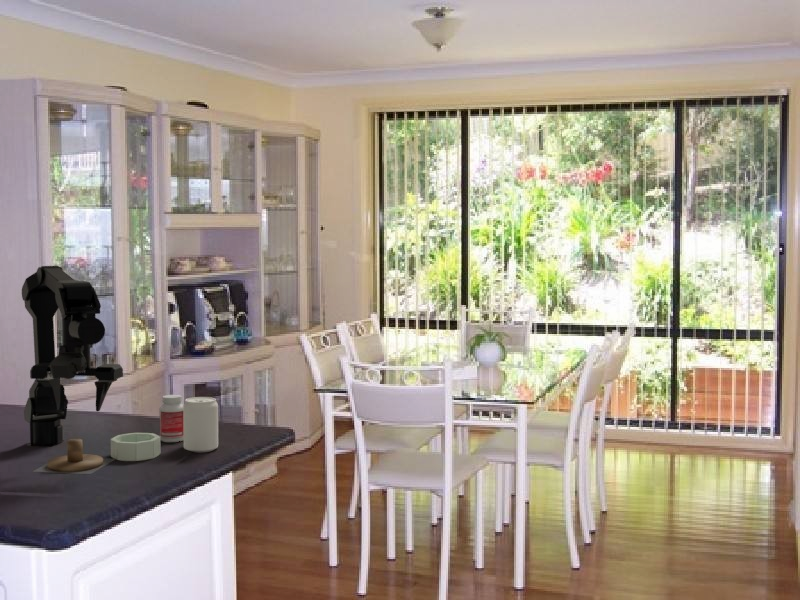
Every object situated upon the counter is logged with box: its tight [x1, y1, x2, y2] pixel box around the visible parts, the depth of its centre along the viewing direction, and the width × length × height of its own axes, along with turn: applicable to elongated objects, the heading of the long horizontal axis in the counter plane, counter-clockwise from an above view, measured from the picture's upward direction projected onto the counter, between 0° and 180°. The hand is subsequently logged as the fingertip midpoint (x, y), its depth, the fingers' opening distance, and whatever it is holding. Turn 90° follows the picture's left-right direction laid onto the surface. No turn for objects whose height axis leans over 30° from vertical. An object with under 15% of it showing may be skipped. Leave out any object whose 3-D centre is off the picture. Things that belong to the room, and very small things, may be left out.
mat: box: [31, 457, 116, 475], centre depth 205 cm, size 13×13×1 cm
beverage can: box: [183, 396, 219, 453], centre depth 222 cm, size 8×8×12 cm
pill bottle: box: [159, 394, 184, 443], centre depth 232 cm, size 6×6×11 cm
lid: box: [46, 438, 103, 472], centre depth 205 cm, size 12×12×6 cm
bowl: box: [110, 432, 161, 462], centre depth 214 cm, size 10×10×5 cm
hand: (77, 410), depth 205 cm, fingers open, 9 cm apart
